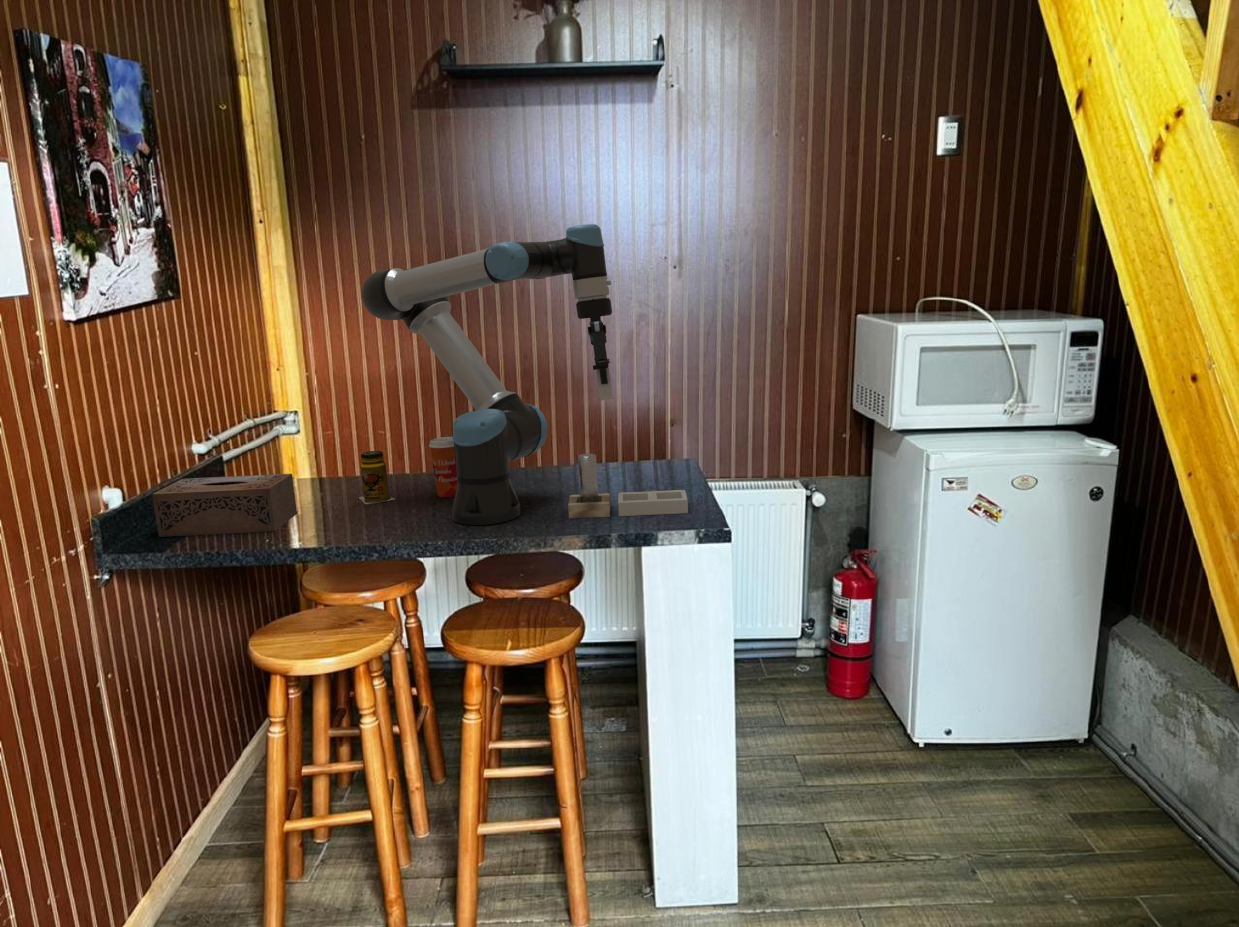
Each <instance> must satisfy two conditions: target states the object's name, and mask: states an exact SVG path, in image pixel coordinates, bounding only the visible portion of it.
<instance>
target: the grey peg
mask: <svg viewBox="0 0 1239 927" xmlns="http://www.w3.org/2000/svg"><path fill="white" fill-rule="evenodd" d="M577 461H578V465H577V466H578V477H579V478H578V480H579V481H578V482H579V493H580V494H579V495H580V499H581V503H587V502H598V494H599V488H598V486H599V485H598V467H597V455H596V454H595V453H582V454H579V455H578V456H577Z"/></svg>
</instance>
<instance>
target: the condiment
mask: <svg viewBox="0 0 1239 927" xmlns="http://www.w3.org/2000/svg"><path fill="white" fill-rule="evenodd" d="M360 458H361V459H360V460H361V464H360V474H361V483H362V492H363V496H359V497H358V498H359V500H360V501H361V502H362V503H363V504H364V505H371V504H379V503H384V502H389V501H395V500H396V498H394V497H393V496H392V495H391V494H390V489H389V481H388V479H389V478H388V471H387V470H388V469H387V464H386V462H385V461H384V453H383V451H381V450H370V451H365V452H362V453H361V454H360Z"/></svg>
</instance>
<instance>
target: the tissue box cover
mask: <svg viewBox="0 0 1239 927" xmlns="http://www.w3.org/2000/svg"><path fill="white" fill-rule="evenodd" d="M295 493H296V492H295V486H294V479H293V473H278V474H277V473H274V474H255V475H238V476H237V475H235V476H214V477H213V476H212V477H194V478H193V477H191V478H181V479H179V480H177V481H175V482H174V483H171V484H169V485H168V486H165V487H164V488H161V489H159V490H158V491H155V492H153V493H152V494H151V496H152V503H153V507H154V508H153V510H154V514H155V521H156V527H157V535H158V537H161V538H162V537H181V536H182V537H183V536H184V537H185V536H202V535H203V536H204V535H205V536H206V535H218V534H219V535H221V534H222V535H223V534H241V533H242V534H244V533H267V532H277V531H278V530H279V529H281V527H282V526H284V525H285V524H287V522H289V521H290V520H291V519H292V518H293V517H294V516H296V515H297V514H298V508H297V501H296V494H295Z"/></svg>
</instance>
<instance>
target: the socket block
mask: <svg viewBox="0 0 1239 927" xmlns="http://www.w3.org/2000/svg"><path fill="white" fill-rule="evenodd" d="M567 506H568V507H567V508H568V519H585V518H586V519H589V518H590V519H591V518H610V517H611V494H610V493H607V492H606V493H598V502H587V503H581V499H580V494H570V495H569V499H568V504H567Z"/></svg>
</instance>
